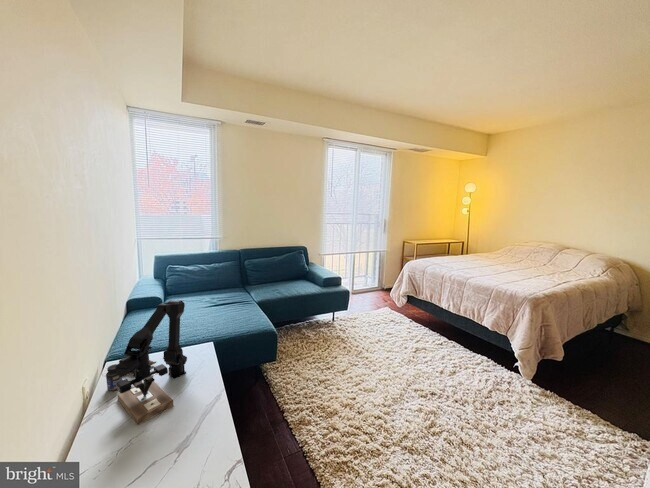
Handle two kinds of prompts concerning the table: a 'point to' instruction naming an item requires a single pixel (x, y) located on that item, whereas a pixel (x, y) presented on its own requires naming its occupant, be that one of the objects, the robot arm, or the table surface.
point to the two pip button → (135, 391)
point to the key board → (138, 409)
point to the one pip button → (151, 404)
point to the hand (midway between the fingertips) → (144, 395)
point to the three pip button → (144, 397)
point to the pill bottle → (112, 378)
